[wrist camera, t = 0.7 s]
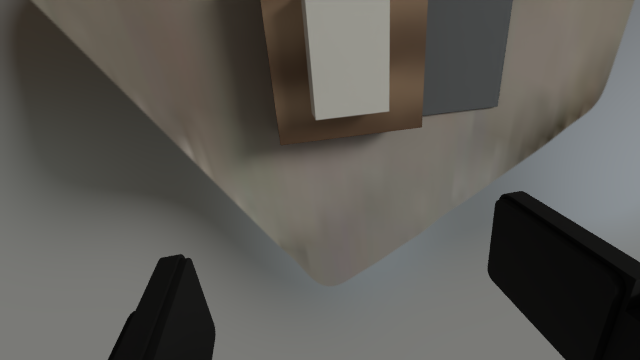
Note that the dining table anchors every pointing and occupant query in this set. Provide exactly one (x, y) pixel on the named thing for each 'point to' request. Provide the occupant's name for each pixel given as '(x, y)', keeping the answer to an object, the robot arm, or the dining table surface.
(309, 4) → the tile
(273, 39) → the panel
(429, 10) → the mat
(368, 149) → the dining table surface
